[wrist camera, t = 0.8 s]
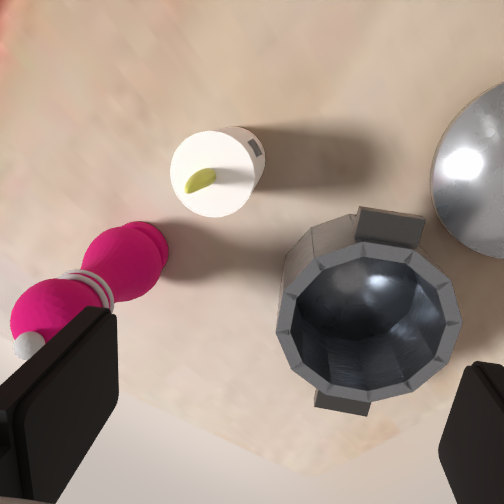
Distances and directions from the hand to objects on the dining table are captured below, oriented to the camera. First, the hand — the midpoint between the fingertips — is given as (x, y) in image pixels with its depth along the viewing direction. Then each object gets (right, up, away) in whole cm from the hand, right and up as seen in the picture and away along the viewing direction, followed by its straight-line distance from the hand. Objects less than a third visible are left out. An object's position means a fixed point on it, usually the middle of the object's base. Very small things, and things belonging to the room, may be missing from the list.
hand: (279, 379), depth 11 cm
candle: (-2, +13, +28) cm, 31 cm away
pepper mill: (-13, +4, +33) cm, 35 cm away
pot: (+10, 0, +31) cm, 33 cm away
